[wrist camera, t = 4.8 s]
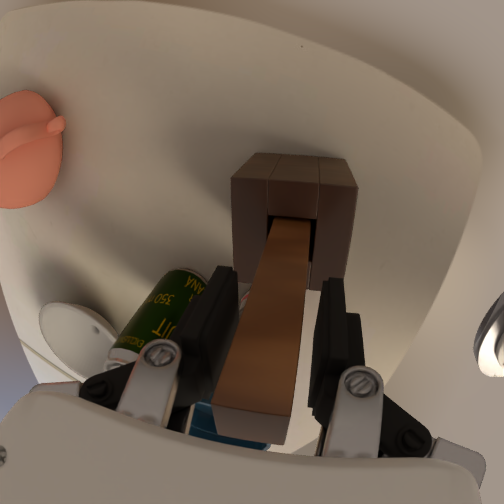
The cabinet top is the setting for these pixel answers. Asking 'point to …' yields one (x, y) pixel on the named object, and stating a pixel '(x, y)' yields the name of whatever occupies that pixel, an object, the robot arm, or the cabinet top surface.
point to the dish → (77, 336)
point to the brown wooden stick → (267, 341)
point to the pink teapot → (28, 149)
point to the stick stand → (294, 210)
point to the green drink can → (156, 315)
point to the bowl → (207, 430)
